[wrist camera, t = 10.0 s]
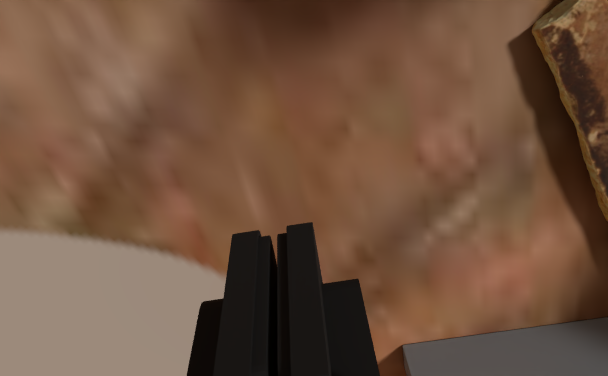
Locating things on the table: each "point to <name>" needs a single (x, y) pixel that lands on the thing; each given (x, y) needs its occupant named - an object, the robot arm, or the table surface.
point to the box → (516, 352)
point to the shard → (581, 77)
